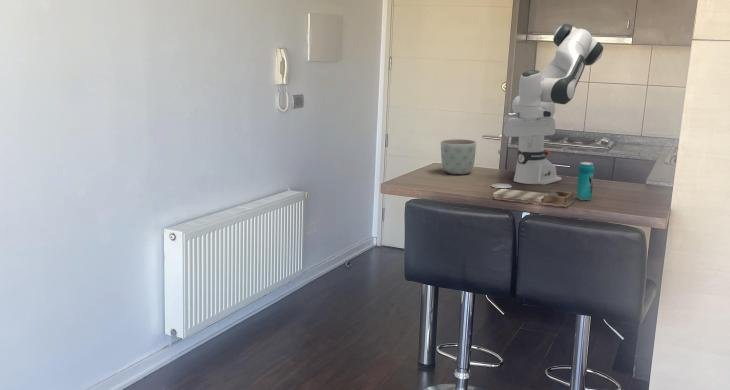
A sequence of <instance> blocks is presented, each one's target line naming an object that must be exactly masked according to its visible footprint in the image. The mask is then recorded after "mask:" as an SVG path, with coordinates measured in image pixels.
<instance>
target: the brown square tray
mask: <svg viewBox="0 0 730 390" xmlns="http://www.w3.org/2000/svg"><path fill="white" fill-rule="evenodd" d="M549 192H550V193H553V192H554V193H557V194H558V196H551V195H549V194H550V193H547V194H548V195H544V197H543V198H542V199H541V202H545V203H553V204H562V205H567V204H569V203H570V202H572V201H573V202H574V192H571V191H561V190H560V191H559V190H552V189H551V190H550V191H549Z"/></svg>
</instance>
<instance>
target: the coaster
mask: <svg viewBox="0 0 730 390" xmlns="http://www.w3.org/2000/svg"><path fill="white" fill-rule="evenodd" d="M491 186H492V187H495V188H505V189H506V188H510V189H512V188H513V186H512V185H511V184H509V183H492V184H491V185H490V187H491ZM492 187H491V188H492Z"/></svg>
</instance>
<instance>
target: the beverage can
mask: <svg viewBox="0 0 730 390" xmlns="http://www.w3.org/2000/svg"><path fill="white" fill-rule="evenodd" d="M594 170H595V166H594V162H589V161H581V162H579V166H578V177H577V194H576V196H577V198H578V200H579V199H582V200H581V201H583V200H588V201H590V200H591V199H592V197H593V185H594V172H595V171H594Z"/></svg>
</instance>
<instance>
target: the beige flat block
mask: <svg viewBox="0 0 730 390" xmlns="http://www.w3.org/2000/svg"><path fill="white" fill-rule="evenodd" d="M548 194H549V193H546V192H538V191H537V192H536V191H527V190H517V189H511V188H510V189H497V190H496V191H495V192H493V193H492V197H493V196H494V197H503V198H512V199H521V200H528V201H537V202H541V199H542V198H543V197H544V195H548Z"/></svg>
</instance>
